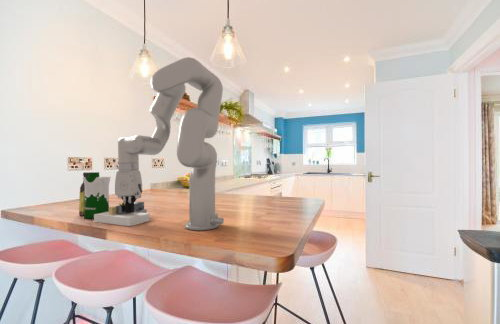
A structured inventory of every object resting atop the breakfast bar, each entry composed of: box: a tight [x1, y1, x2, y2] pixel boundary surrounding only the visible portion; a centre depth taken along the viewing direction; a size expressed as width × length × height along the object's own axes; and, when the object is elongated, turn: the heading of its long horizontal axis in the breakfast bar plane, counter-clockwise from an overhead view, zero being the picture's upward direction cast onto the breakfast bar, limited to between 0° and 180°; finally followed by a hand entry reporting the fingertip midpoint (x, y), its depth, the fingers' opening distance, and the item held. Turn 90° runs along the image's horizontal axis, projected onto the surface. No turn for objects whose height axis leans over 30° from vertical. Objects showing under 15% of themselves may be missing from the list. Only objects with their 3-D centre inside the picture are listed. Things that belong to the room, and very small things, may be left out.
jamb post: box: [134, 208, 148, 213], centre depth 108 cm, size 5×4×3 cm
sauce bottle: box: [78, 171, 91, 216], centre depth 115 cm, size 7×6×20 cm
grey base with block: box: [93, 204, 151, 227], centre depth 101 cm, size 20×10×6 cm, turn 67°
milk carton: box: [82, 172, 111, 219], centre depth 109 cm, size 9×9×20 cm
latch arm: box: [115, 201, 145, 213], centre depth 105 cm, size 12×4×4 cm, turn 158°
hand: (129, 212), depth 100 cm, fingers closed
